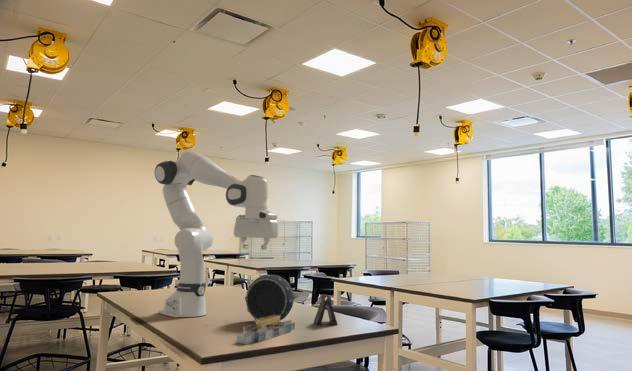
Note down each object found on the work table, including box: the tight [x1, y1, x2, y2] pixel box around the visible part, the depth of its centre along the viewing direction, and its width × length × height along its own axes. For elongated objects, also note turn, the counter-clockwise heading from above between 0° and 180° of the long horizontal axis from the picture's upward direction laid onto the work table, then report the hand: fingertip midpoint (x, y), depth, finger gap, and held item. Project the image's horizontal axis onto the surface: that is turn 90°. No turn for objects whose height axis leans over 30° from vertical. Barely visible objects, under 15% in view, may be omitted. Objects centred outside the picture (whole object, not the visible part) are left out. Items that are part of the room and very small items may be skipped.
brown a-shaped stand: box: [313, 293, 338, 326], centre depth 180 cm, size 9×6×12 cm, turn 103°
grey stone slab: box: [236, 319, 296, 346], centre depth 156 cm, size 30×7×4 cm, turn 149°
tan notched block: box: [255, 315, 281, 329], centre depth 156 cm, size 11×3×6 cm, turn 149°
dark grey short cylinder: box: [244, 274, 295, 322], centre depth 179 cm, size 11×20×20 cm, turn 78°
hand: (254, 249), depth 170 cm, fingers open, 8 cm apart
